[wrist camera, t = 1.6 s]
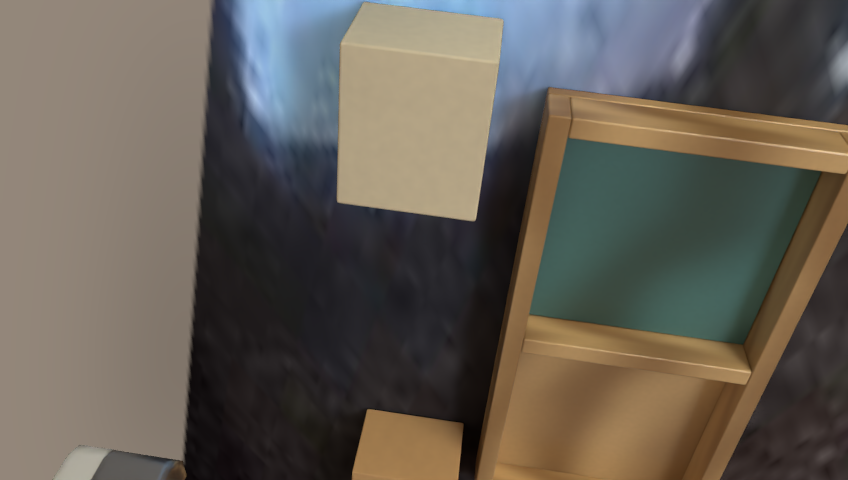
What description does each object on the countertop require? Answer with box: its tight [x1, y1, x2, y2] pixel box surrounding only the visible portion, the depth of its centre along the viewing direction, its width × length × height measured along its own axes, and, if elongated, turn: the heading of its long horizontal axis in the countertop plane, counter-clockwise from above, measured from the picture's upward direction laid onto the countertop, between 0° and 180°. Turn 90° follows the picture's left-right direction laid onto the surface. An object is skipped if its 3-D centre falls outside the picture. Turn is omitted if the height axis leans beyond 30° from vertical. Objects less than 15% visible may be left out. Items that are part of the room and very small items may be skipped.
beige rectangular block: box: [337, 2, 503, 221], centre depth 27 cm, size 5×6×4 cm
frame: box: [474, 87, 848, 480], centre depth 33 cm, size 11×21×2 cm, turn 175°
